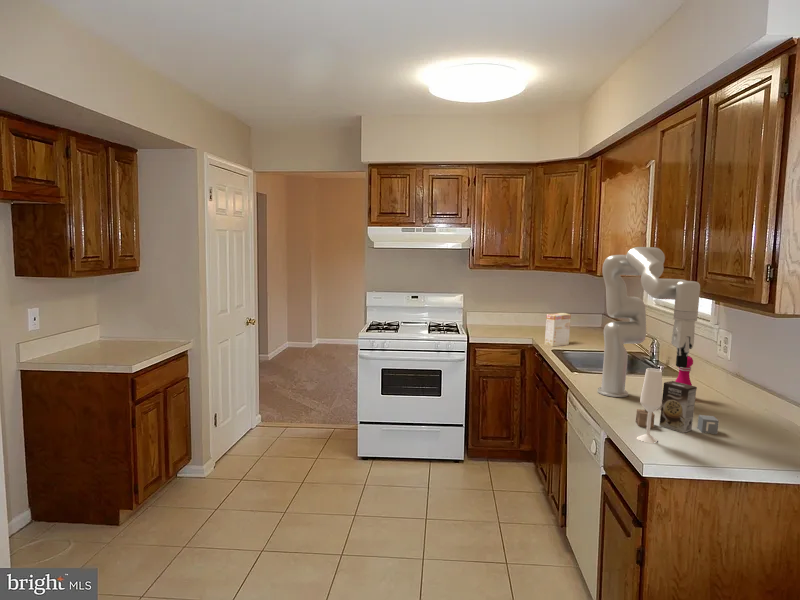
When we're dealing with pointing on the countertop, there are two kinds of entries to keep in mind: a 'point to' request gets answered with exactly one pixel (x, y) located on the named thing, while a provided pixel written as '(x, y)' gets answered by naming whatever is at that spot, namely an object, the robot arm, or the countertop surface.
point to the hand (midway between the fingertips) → (681, 366)
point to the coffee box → (677, 406)
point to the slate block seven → (708, 424)
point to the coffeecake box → (557, 329)
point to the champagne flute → (651, 398)
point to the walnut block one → (644, 418)
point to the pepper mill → (685, 372)
